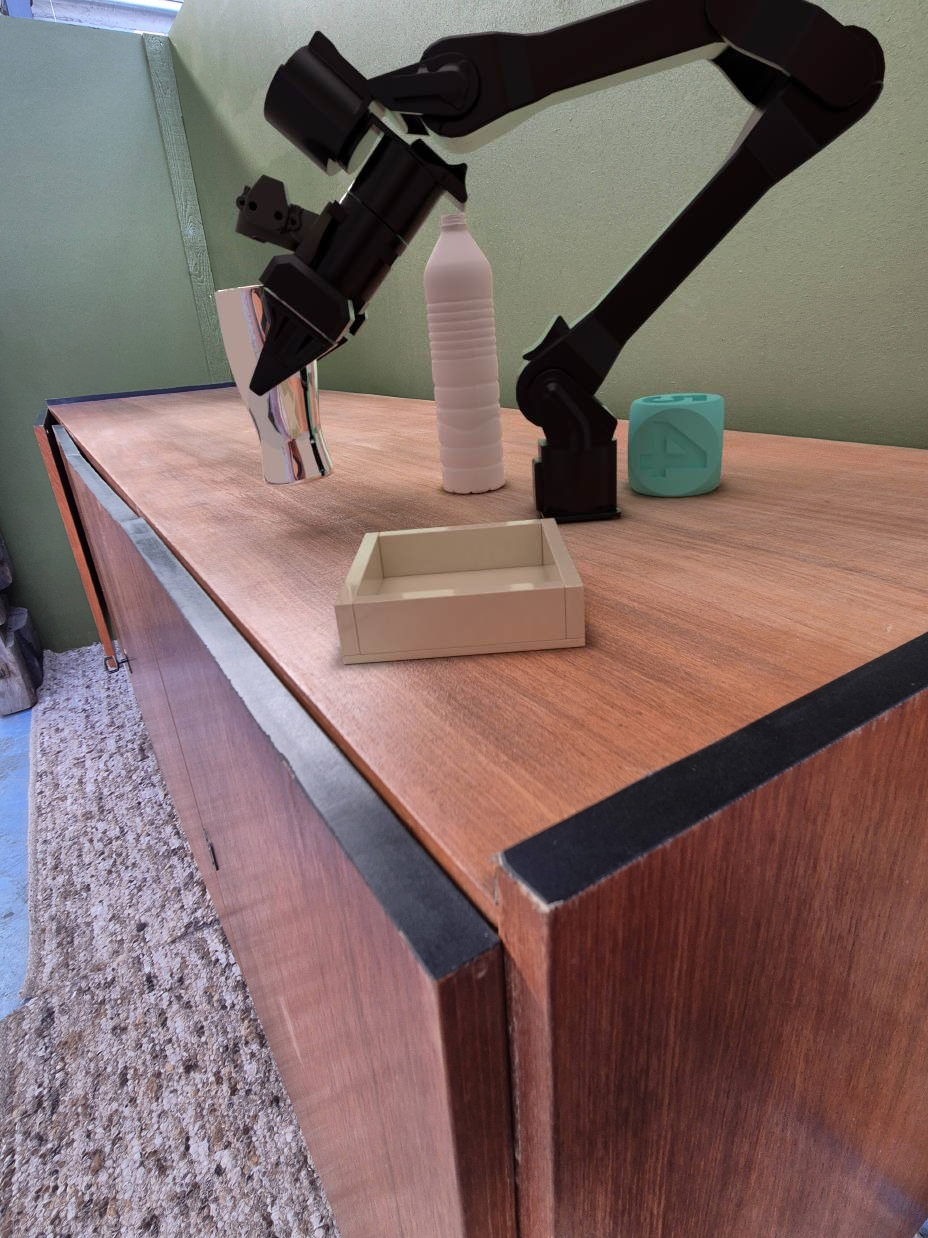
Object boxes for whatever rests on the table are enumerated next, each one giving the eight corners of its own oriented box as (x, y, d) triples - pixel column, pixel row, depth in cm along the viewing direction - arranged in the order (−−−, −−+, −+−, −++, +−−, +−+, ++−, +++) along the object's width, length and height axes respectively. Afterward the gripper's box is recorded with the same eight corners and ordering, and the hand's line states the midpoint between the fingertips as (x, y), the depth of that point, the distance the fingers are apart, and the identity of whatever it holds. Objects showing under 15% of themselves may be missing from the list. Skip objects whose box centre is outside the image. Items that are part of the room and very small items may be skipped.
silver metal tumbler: (338, 480, 58) (296, 278, 52) (253, 493, 58) (201, 292, 52) (342, 462, 65) (305, 281, 58) (265, 474, 64) (220, 293, 58)
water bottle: (507, 477, 77) (491, 213, 67) (503, 492, 71) (485, 204, 61) (427, 482, 78) (400, 223, 68) (417, 497, 72) (386, 215, 62)
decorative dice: (719, 497, 63) (725, 402, 60) (626, 497, 65) (627, 407, 62) (718, 476, 70) (723, 391, 66) (634, 477, 72) (635, 395, 69)
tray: (556, 566, 50) (554, 517, 48) (585, 646, 38) (584, 585, 37) (371, 580, 50) (365, 532, 49) (343, 664, 38) (333, 604, 37)
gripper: (306, 164, 60) (208, 320, 64) (260, 104, 43) (131, 321, 47) (411, 257, 63) (311, 400, 68) (407, 236, 46) (274, 429, 50)
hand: (263, 388), depth 58 cm, fingers closed on silver metal tumbler, 7 cm apart
